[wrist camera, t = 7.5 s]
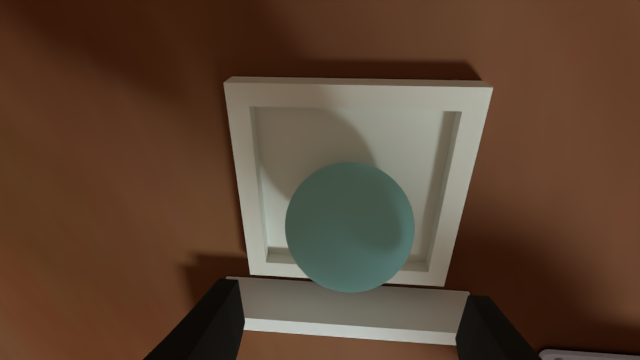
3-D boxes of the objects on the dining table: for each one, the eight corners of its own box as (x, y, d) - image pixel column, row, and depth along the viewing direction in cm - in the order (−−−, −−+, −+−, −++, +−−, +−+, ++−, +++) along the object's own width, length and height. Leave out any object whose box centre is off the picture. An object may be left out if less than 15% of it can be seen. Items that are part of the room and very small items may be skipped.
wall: (468, 291, 20) (485, 335, 18) (450, 353, 23) (462, 398, 21) (211, 275, 22) (192, 314, 19) (224, 335, 24) (209, 376, 22)
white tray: (482, 80, 14) (493, 87, 13) (439, 271, 20) (443, 286, 19) (232, 76, 15) (223, 82, 14) (255, 260, 21) (250, 274, 20)
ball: (410, 142, 16) (440, 210, 11) (397, 237, 18) (417, 325, 14) (291, 140, 16) (268, 205, 11) (295, 234, 19) (279, 319, 14)
